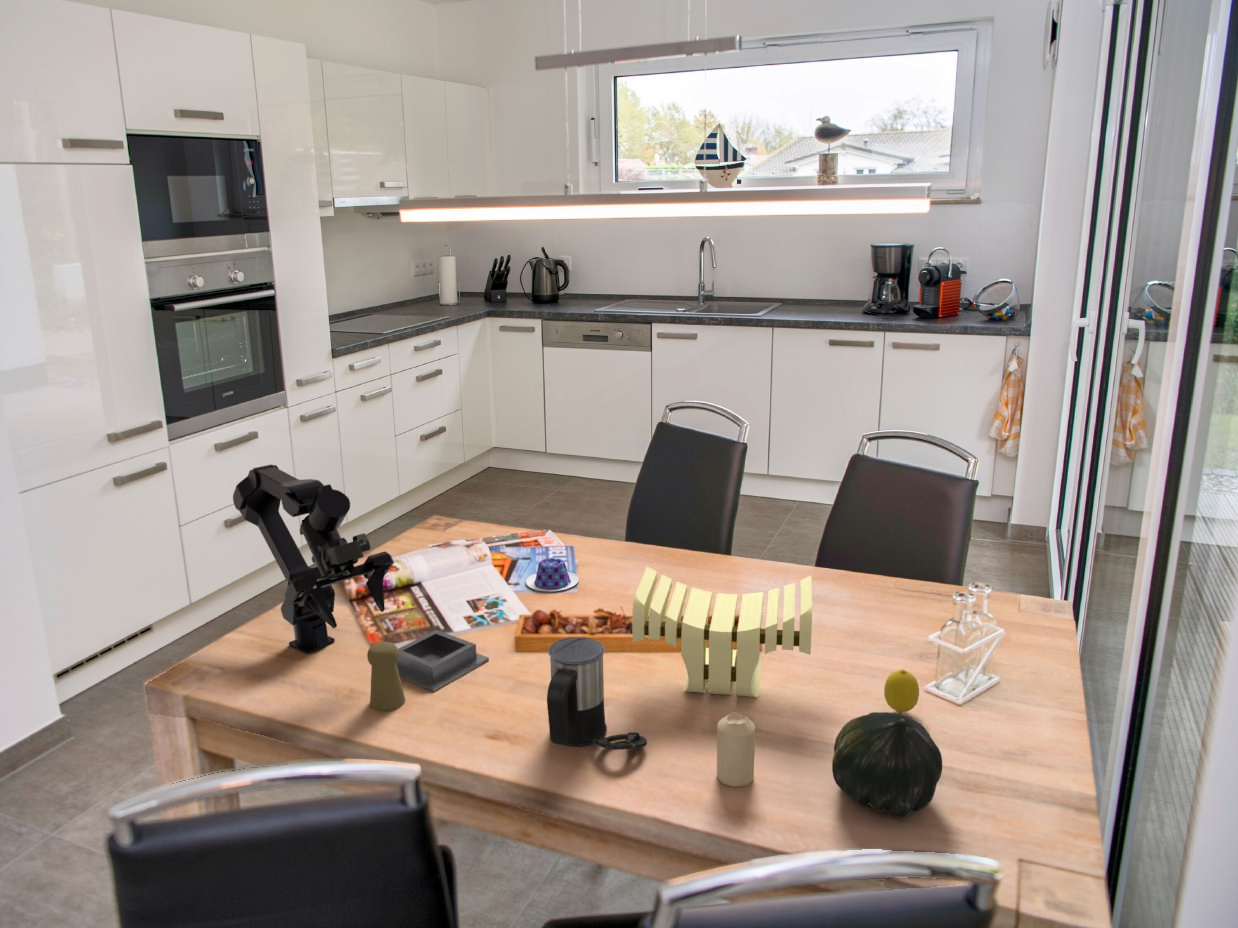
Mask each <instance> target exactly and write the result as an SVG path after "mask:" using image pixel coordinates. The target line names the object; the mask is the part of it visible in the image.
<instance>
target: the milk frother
mask: <svg viewBox="0 0 1238 928" xmlns="http://www.w3.org/2000/svg"><path fill="white" fill-rule="evenodd" d="M604 653H605V646H604V644H603V643H602V642H601V641H599V640H596V639H594V638H591V637H590V638H589V637H584V636H583V637H582V636H575V637H573V636H572V637H566V638H563V639H560V640H557V641H555V642H553V643H552V644H551V645H550V646H549V647H548V650H547V654H548V656H549V659H550V660H549V661H550V682H549V683H548V687H547V688H548V689H547V694H546V705H547V706H546V707H547V714H548V715H547V717H548V727H549V738H550V742H551V744H555V745H558V746H559V745H561V746H562V745H563V746H564V745H565V746H567V745H568V746H574V747H579V746H580V747H581V746H588V745H593V744H594V745H596V746H598V747H600V748H604V749H608V750H613V751H615V750H616V751H622V750H639V749H641V748H644V747H646V746H647V745H648V739H647V738H646V737H644V736H643V735H640V733H639V732H637V731H630V732H628V733H625V734H624V733H620V734H614V735H613V734H612V735H609V736H606V737H605V735H606V733H607V730H608V726H607V723H606V718H605V717H606V715H605V695H604V694H605V693H604V690H605V687H604V685H605V683H604ZM617 741H624V743H623V742H622V743H617ZM614 742H616V743H614Z"/></svg>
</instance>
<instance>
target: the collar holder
mask: <svg viewBox="0 0 1238 928" xmlns="http://www.w3.org/2000/svg"><path fill="white" fill-rule="evenodd" d="M476 645H477V644H476V643H473V642H471V641H468V640H464V639H462V638H460V637H457V636H454V635H452V634H450V633H446V632H443V631H441V630H438V629H435V630H432V631H431V632H429V633H426V634H425V635H423V636H420V637H419V638H417V639H415V640H413V641H411V642H408V643H407V644H404V645H403V646H400V647H399V648H397V649H398V655H399V656H398V659H397V661H396V664H397V668H398V672H399V676H400V679H402V680H405V681H407V682H409V683H412V684H414V685H416V686H419V687H421V688H423V689H425V690H428V691H430V692H433V693H435V692H436V691H438V690H440V689H441V688H443V687H445V686H447V685H449V684H450V683H451V682H454V681H456V680H458V679H459V678H461V677H462V676H464V675H466V674H467V673H469V672H471V671H473V670H474V669H476V668H478V667H480V666H482V665H484V664H485V663H488V662H489V661H490V658H489V656H486V655H483V654H481V653H478V652H477V646H476Z"/></svg>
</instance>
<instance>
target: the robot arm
mask: <svg viewBox="0 0 1238 928" xmlns="http://www.w3.org/2000/svg"><path fill="white" fill-rule="evenodd" d="M232 501H233V505H234V507H235V510H237V511H239V513H240V514H241V516H242V518H243V519H244V520H245V521H247V522H248V523H250V524H253V525H254V526H256V527H257V528H258V529H259V531H260V533H261V535H262V537H263V538H264V541H265V543H266V544H267V546H268V549H270V552H271V554H272V556H273V557H274V559H275V561H276V563H277V566H278V567H279V569H280V570H281V573H282V575H283V577H284V579H285V580H286V586H285V592H284V598H285V599H284V600H283V602H282V604H281V606H280V612H281V616H282V618H283V619H284V620H285V621H286V622H287V623H289V624H291V625H292V626H293V632H294V638H295V639H293V640H292V641H289V642H288V645H289V647H292V648H294V649H296V650H299V651H301V652H303V653H305V654H310V653H313V652H315V651H316V650H319V649H322V648H323V647H326V646H327V645H330V644H332V643H334V642H335V638H334V637H333V636H330V635H328V626H327V624H328V625H329V626H330V627H331V628H333V629H336V628H338V627H337V626H338V624H337V621H336V619H335V617H334V614H333V613H334V611H335V609H334V608H335V601H336V600H335V597H336V592H335V591H336V590H335V589H334V588H333V586H332V585H336V584H338V583H343V582H345V581H348V580H352V579H355V578H358V577H362V576H363V577H364V579H366V580H367V581H366V582H365V585H366V587H367V589H368V591H369V593H370V595H371V597H372V599H373V601H374V603H375V605H376V607H377V608H378V610H379V611H380V612H381V613H383V612H385V608H386V607H385V596H384V595H385V594H384V578H385V576H386V575H387V573H388V572H389V570H390V569H391V567H392V566H393V565H394V564H395V561H394V558H393V556H392V555H391V554H390V553H389V552H387V551H382V552H379V553H378V552H377V553H374V554H371V555H368V556H367V557H366V559H365V561H364V562H363V563H362V564H359V565H356V566H355V564H357V563H358V561H359V559H361V558H364V553H365V552H366V551H367V552H368V551H370V550H371V545H370V544H371V543H370V541H369V538H368V536H367V535H366V533H360V534H357V535H354V536H352V541H351V542H348V541H347V539H346V538H345V537H342V536H341V534H340V533H339V531H338V529H339V528H340V526H341V525H342V523H343V522H344V520H345V518H346V517H347V515H348V513H349V511H350V509H351V500H350V499H349V497H348V496H347V495H346V494H345V493H343V492H342V491H340V490H338V489H334V488H333V487H332V485H331V483H330V484H329V483H328V484H325V485H324V484H323V482H321V481H320V480H319V479H314V478H308V479H306V478H304V479H298V478H297V477H295V476H292V475H291V474H289V473H287V472H285V471H283V470H281V469H280V468H279V467H278V466H277V465H276V464H267V465H260V466H258V467H253V468H252V469H250V470H249V472H248V475H247V476H246V477H244V478H243V479H242V480H241V481H240V482H238V483H237V484H236V486H235V489H234V492H233V495H232ZM280 505H282V509H283V510H284V511H285V512H286V513H287V514H288V515H290V516H291V517H292V518H295V517H299V516H303V515H306V516H305V517H303V518H304V519H302V520H301V523H300V525H299V534H300V535H301V536H302V535H303V537H304V539H305V541H306V544H307V546H308V547H309V550H310V552H311V555H312V556H311V561H312V563H313V564H315V565H316V566H315V567H311V566H309V565H308V564H307V561H306V560H305V558H304V556H303V554H302V552H301V550H300V549H299V547H298V545H297V543H296V541H295V539H294V538H293V536H292V533H291V532H290V530H289V528H288V527H287V525H286V523H285V521H284V518H283V517H282V516H281V513H280Z"/></svg>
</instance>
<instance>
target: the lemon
mask: <svg viewBox="0 0 1238 928" xmlns="http://www.w3.org/2000/svg"><path fill="white" fill-rule="evenodd" d="M885 681H886V682H885V683H884V688H883V689H884V690H883V692H884V693H883V694H884V699H885V701H886V703H887V705H888V707H889V708H891V709H892V710H894V711H896V713H900V714H903V713H906V712H909V711H911V710H913V709H914V708H915V707H916V705H917V704H918V701H919V697H920V688H919V682H918V680H917V678H916V677H915V675H913V673H911V672H910V671H908V670H906V669H903V668H902V669H898V670H895V671H893V672H891V673H890V674H889V675H888V676H887V678H886V680H885Z"/></svg>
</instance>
